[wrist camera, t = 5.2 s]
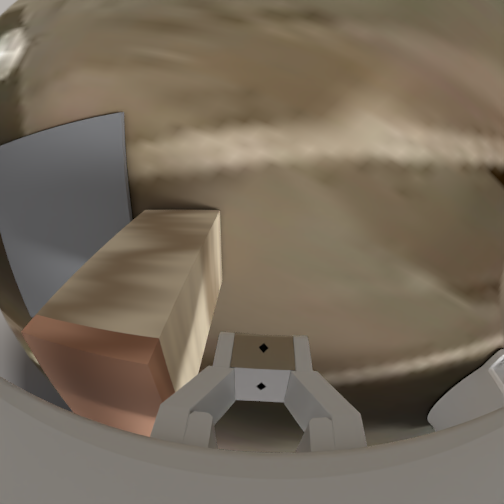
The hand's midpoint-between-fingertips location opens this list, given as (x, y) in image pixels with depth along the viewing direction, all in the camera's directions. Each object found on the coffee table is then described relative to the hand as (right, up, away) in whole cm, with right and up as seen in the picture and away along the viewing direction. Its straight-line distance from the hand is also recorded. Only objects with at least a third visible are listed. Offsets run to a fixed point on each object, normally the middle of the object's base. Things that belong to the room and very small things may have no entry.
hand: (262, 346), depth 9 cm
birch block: (-5, +4, +9) cm, 11 cm away
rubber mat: (-16, +4, +9) cm, 19 cm away
